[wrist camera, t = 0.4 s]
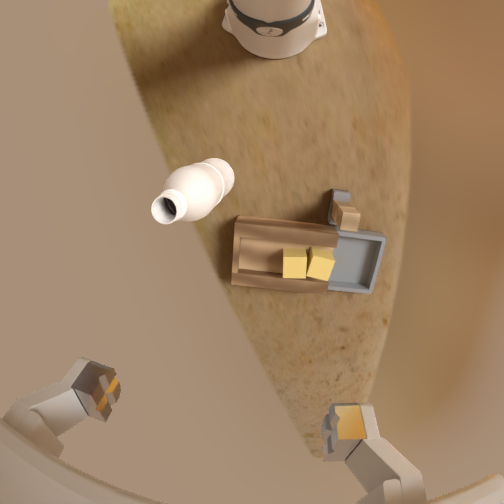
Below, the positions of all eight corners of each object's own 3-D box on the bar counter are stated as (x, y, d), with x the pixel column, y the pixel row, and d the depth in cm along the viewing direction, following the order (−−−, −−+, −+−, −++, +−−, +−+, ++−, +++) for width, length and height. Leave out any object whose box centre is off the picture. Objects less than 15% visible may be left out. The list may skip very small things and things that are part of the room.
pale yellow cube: (311, 246, 50) (313, 255, 47) (331, 252, 50) (335, 261, 47) (304, 266, 52) (306, 276, 48) (324, 271, 52) (327, 281, 48)
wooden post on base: (332, 188, 49) (344, 201, 39) (347, 191, 49) (363, 204, 39) (327, 219, 51) (337, 239, 42) (342, 221, 51) (355, 241, 41)
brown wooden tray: (238, 215, 52) (234, 222, 48) (334, 226, 51) (339, 234, 47) (235, 272, 57) (231, 284, 53) (323, 282, 56) (326, 294, 52)
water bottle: (223, 202, 52) (177, 256, 29) (191, 182, 51) (124, 220, 28) (244, 170, 49) (211, 199, 26) (211, 149, 48) (151, 161, 25)
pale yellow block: (283, 248, 51) (283, 257, 47) (305, 248, 51) (307, 257, 47) (282, 268, 52) (282, 278, 49) (304, 268, 52) (305, 278, 48)
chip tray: (334, 226, 51) (336, 231, 49) (381, 232, 51) (386, 238, 48) (323, 282, 56) (324, 289, 53) (367, 286, 56) (371, 293, 53)
